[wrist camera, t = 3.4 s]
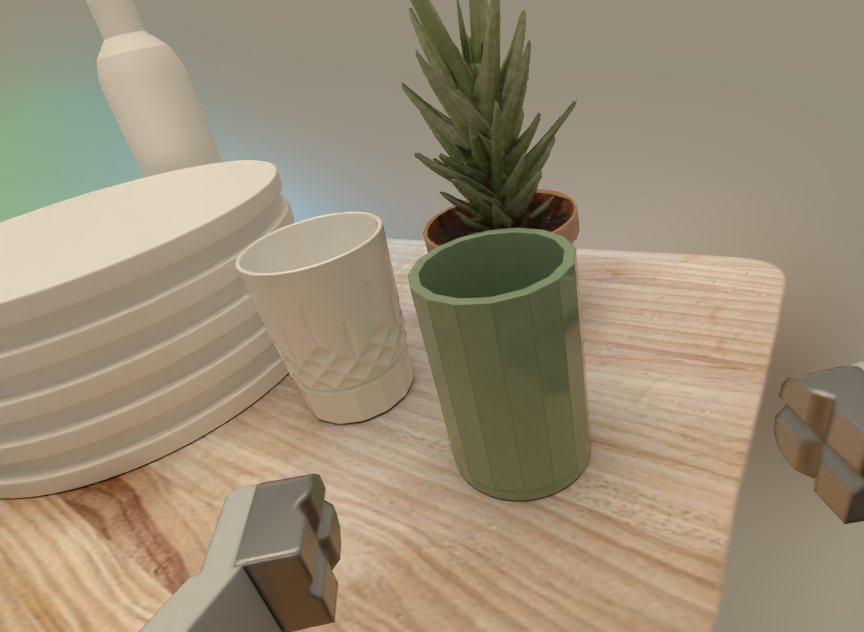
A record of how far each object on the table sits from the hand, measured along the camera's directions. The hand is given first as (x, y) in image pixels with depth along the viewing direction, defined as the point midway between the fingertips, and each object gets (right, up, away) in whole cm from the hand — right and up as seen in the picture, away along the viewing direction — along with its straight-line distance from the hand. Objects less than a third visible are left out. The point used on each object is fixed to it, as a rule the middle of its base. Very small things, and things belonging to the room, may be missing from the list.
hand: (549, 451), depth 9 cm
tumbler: (+2, -4, +16) cm, 17 cm away
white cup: (-6, -2, +23) cm, 24 cm away
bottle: (-26, +9, +50) cm, 57 cm away
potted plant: (+4, +2, +27) cm, 27 cm away
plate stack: (-24, -1, +33) cm, 41 cm away
